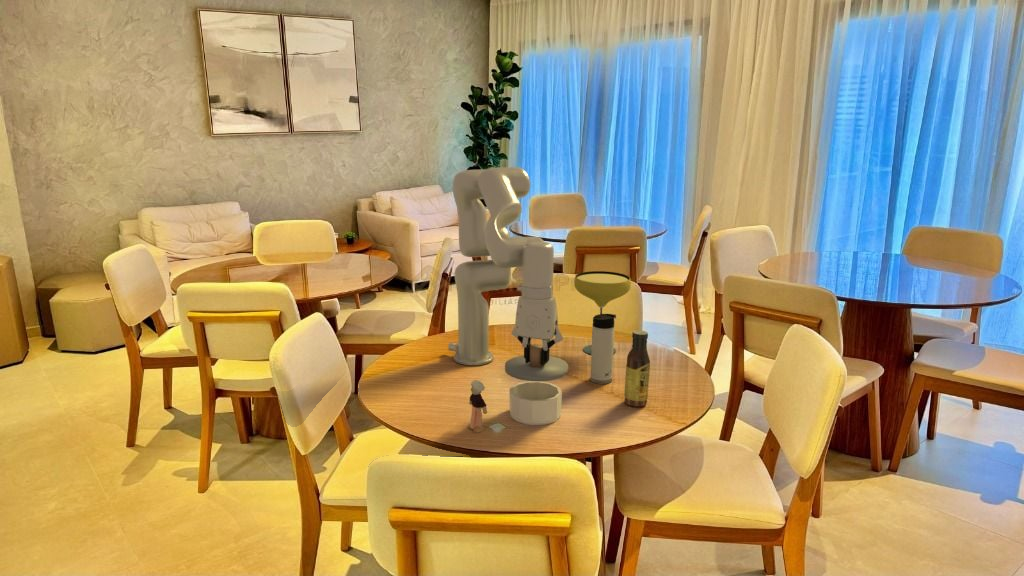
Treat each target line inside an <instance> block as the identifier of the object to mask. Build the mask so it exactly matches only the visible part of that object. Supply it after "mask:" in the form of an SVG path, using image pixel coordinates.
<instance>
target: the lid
mask: <svg viewBox="0 0 1024 576" xmlns="http://www.w3.org/2000/svg"><path fill="white" fill-rule="evenodd" d="M541 350H543V344H539V343H533V344H531V345H530V360H529V363H525V358H524V354H523V355H519V356H514V357H512V358H510V359H508V360H507V361H505V364H504V371H505V373H506V375H509V377H512V378H515V379H516V380H521V381H542V382H549V381H554V380H558V379H562V378H563V377H565V376H566V375H567V374H568V372H569V364H568V362H566V361H565V360H564V359H562V358H559V357H556V356H551V355H549V361H548V362H547V363H546V364H545V365H544V366H543V365H541Z"/></svg>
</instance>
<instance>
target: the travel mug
mask: <svg viewBox="0 0 1024 576" xmlns="http://www.w3.org/2000/svg"><path fill="white" fill-rule="evenodd" d="M615 319H617V315H616V314H615V313H614V314H613V313H602V314H600V313H599V314H595V315H593V317H592V331H591V345H592V351H591V355H590V360H591V361H590V380H591V382H592V383H595V384H598V385H599V384H600V385H606V384H609V383H611V382H612V381H613V364H614V361H613V360H614V354H613V348H614V345H615V344H614V343H615V342H614V341H615Z"/></svg>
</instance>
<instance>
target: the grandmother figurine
mask: <svg viewBox="0 0 1024 576" xmlns="http://www.w3.org/2000/svg"><path fill="white" fill-rule="evenodd" d="M470 385H471V388H470V392H471V394H470V396H469V401H468V404H469V405H471V415H470V423H468V425H467V428H469V429H471V430H473V432H474V433H481V432H483V431H484V430H485V427H483V414H484V415H487V413H488V409H487V406H488V405H487V404H486V402H485V400H484V399H483V396H482V394H481V393H482V392H483V391H484V390H486V386H485V385H484V383H483V382H482V381H480V380H477V379H474V380H472V381H471V384H470Z"/></svg>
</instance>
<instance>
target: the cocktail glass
mask: <svg viewBox="0 0 1024 576" xmlns="http://www.w3.org/2000/svg"><path fill="white" fill-rule="evenodd" d="M631 281H632V280H631V277H630V276H629V275H626V274H625V273H620V272H616V271H615V272H614V271H606V270H605V271H604V270H603V271H602V270H596V271H595V270H594V271H593V270H592V271H590V270H589V271H585V272H579V273H577V274H575V277H574V281H573V283H574V288H575V290H576V291H577V292H578V293H579V294H581V295H583V296H584V297H586V298H588V299H589V300H592V301H593V302H594V303H595V304H596V306H597V307H599V308H600V309H599V310H600V312H599V314H603V309H604V308H605V307H606V306H607V304H608V303H610V302H611V301H613V300H616V299H618V298H621V297H623V296H625V295H626V294H627V293H629V291H630V289H631V284H632V282H631ZM582 348H583V349H582V350H583V352H584V353H585V354H588V355H590V356H591V351H592V344H588V345H586V346H584V347H582ZM616 352H617V350H616V348H615V347H613V355H614V354H616Z"/></svg>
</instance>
